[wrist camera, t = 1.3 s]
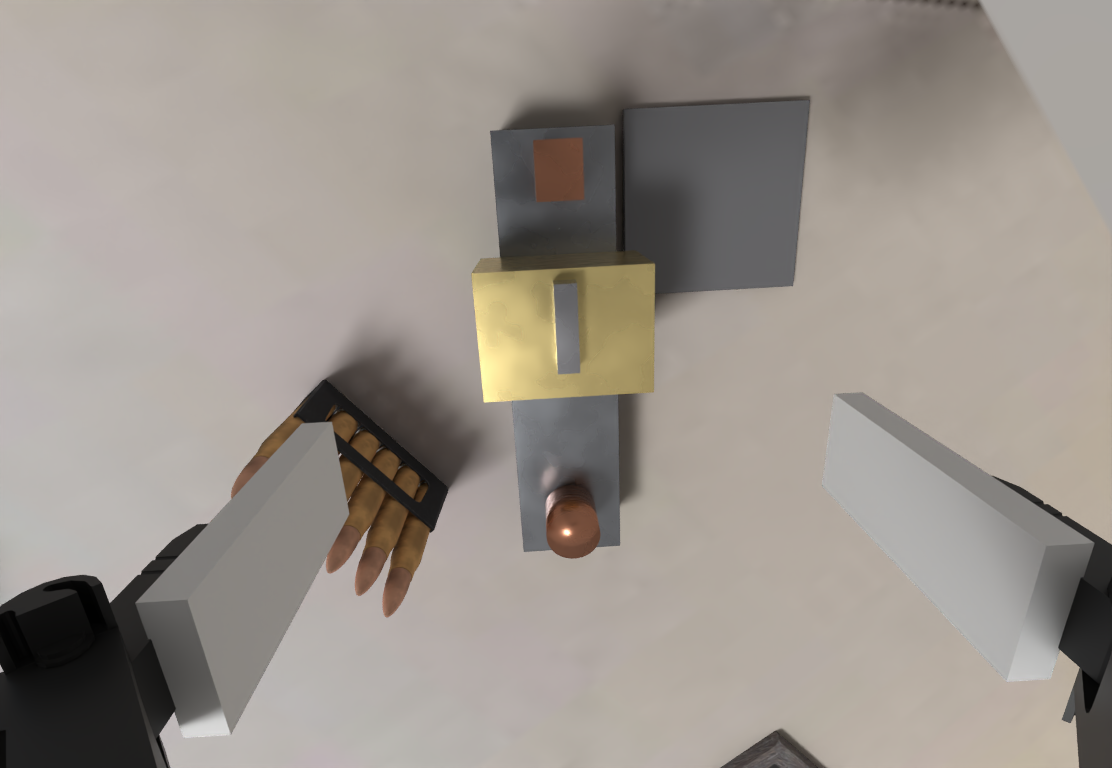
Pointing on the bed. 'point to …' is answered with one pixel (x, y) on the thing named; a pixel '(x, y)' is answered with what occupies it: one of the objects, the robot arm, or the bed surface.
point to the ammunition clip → (368, 493)
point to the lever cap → (565, 325)
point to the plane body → (572, 422)
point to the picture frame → (771, 755)
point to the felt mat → (715, 192)
